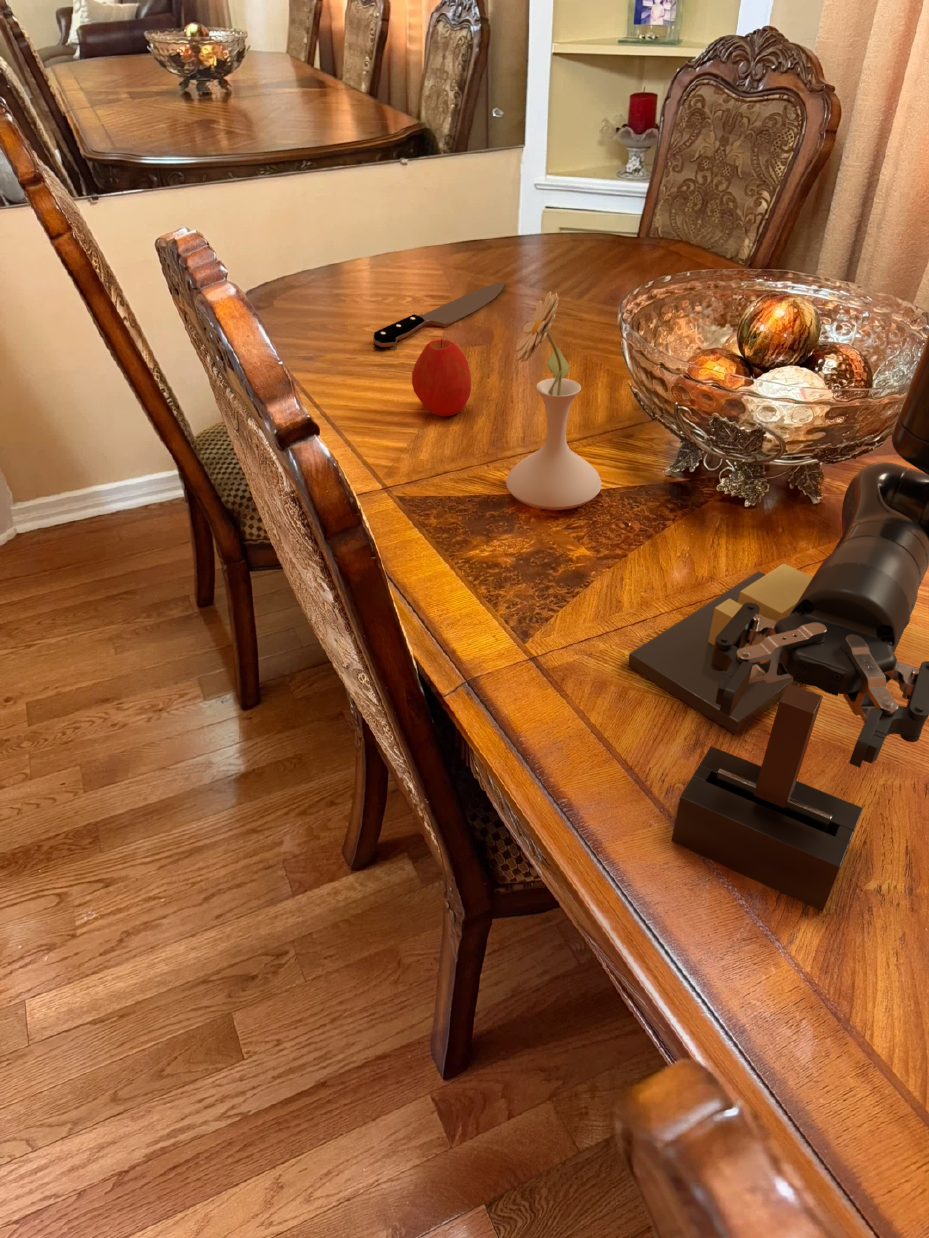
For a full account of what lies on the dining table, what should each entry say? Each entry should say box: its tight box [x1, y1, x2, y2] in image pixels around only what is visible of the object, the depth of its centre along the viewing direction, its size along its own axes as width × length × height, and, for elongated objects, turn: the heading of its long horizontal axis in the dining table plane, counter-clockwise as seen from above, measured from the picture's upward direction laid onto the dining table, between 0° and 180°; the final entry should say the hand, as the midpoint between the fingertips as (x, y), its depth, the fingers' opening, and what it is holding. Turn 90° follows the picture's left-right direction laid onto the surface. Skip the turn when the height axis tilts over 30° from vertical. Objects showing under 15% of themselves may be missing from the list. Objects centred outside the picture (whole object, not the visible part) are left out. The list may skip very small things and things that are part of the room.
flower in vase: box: [505, 290, 603, 511], centre depth 99 cm, size 13×11×25 cm
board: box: [627, 571, 802, 735], centre depth 83 cm, size 20×12×2 cm, turn 130°
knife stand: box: [670, 745, 864, 913], centre depth 64 cm, size 6×11×5 cm, turn 56°
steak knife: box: [372, 281, 506, 350], centre depth 158 cm, size 5×41×2 cm, turn 147°
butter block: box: [738, 562, 813, 622], centre depth 84 cm, size 7×4×4 cm, turn 131°
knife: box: [715, 684, 832, 833], centre depth 61 cm, size 2×8×15 cm, turn 57°
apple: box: [411, 338, 472, 417], centre depth 124 cm, size 8×8×11 cm
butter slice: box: [708, 599, 766, 648], centre depth 81 cm, size 2×4×4 cm, turn 40°
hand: (789, 730), depth 57 cm, fingers open, 8 cm apart
